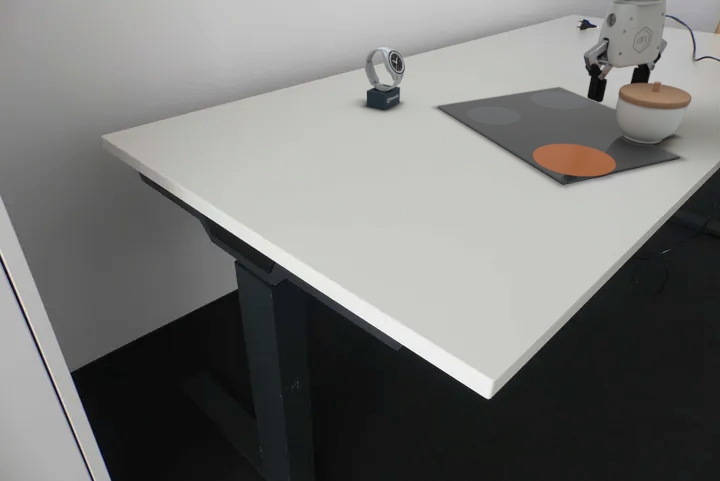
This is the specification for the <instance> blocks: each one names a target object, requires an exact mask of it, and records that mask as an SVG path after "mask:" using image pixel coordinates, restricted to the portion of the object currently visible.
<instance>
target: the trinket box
mask: <svg viewBox="0 0 720 481" xmlns="http://www.w3.org/2000/svg"><path fill="white" fill-rule="evenodd" d="M617 95H618V97H617V101H616V105H615V110H616V122H617V125H618V127H619V128H620V130H621V131H622V132H623V136H624V137H625V138H627V139H629V140H631V141H634V142H638V143H645V144H653V145H655V144H658V143H661V142H662V140H663V139H667V138H666V137H668V136H669V135H671V134H672V133H673V134H674V133H675V131H676V130H677V129H678V128H679V127H680V125H681V124H682V122H683V121H684V118H685V116H686V114H687V111H688V108H689V106H690V104H691V102H692V98H693V97H692V95H691V94H690V92H688V91H686V90H683V89H682V88H678V87H675V86H671V85H667V84H662V82H661V81H659V80H656V81H654V82H648V83H632V84H630V83H627V84H624V85H622V86H620V88H619V90H618V94H617Z"/></svg>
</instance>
